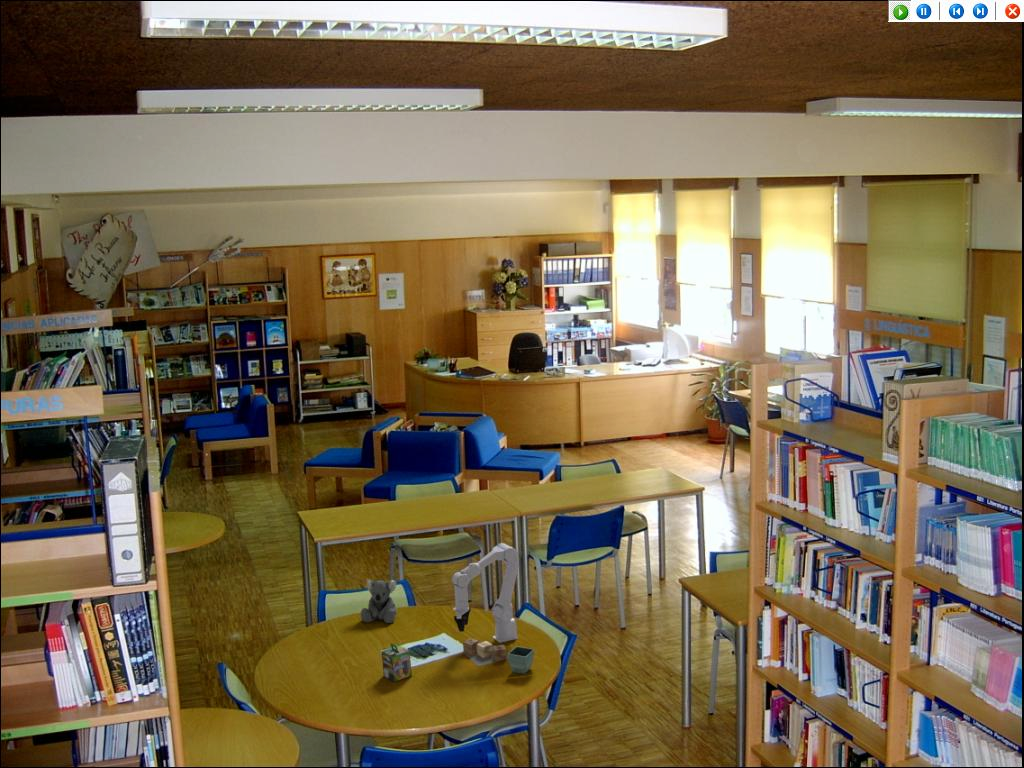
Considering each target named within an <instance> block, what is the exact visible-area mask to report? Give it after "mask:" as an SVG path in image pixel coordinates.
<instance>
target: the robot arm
mask: <svg viewBox="0 0 1024 768" xmlns="http://www.w3.org/2000/svg"><path fill="white" fill-rule="evenodd" d="M495 561H503V562H504V563H505V565H506V566H505V571H504V574H503V575H504V576H503V581H502V583H501V589H500V593H499V598H497V599H496V600H495V602H494V605H493V606H492V609H491V613H492V616H493V617H494V629H495V630H494V632H495V635H493V636H491V637H492V638H493V639H494V640H495V641H497V642H498V643H500V644H501V643H503V642H508V641H514V640H518V629H517V622H516V619H515V618H514V617H513V616H514V612H513V608H514V606H513V604H512V597H513V593H514V588H515V584H516V580H517V576H518V570H519V566H520V560H519V552H518V551H517V550H516V548H514V547H513V546H510V545H508V544H506V543H504V542H501V543H500V542H499V543H498V544H497V545H495V546H494V547H493V548H492V550H491V551H490V552H488V553H487V554H486V555H485V556H484V557H482V559H480V560H479V561H477V562H470V563H469V564H468V565H467V566H466V567H465V568H463V569H461V570H460V571H457V572H455V573H454V574H453V575H452V578H451V583H452V584H453V586H454V587H453V588H454V603H455V604H454V605H455V607H453V609H452V611H455V613H456V615H454V616H453V621H455V623H456V627H457V628H458V632H462V633H464V632H465V627H466V626H468V624H469V623H468V622H469V617H470V613H471V610H472V609H471V607H469V596H468V585H469V583H470V582H471V581H472V580H473V579H474V578H476V577H477V576H479V575H480V574H481V572H482V570H483V569H484V568H485V567H487V566H489V565H490V564H492V563H493V562H495Z"/></svg>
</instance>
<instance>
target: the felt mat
mask: <svg viewBox="0 0 1024 768" xmlns="http://www.w3.org/2000/svg"><path fill="white" fill-rule="evenodd" d="M492 646H495V645H494V644H492ZM462 653H463V654H464V655H465V656H466V657H467V658H468V659H469V660H471V661H472V662H473V663H474V664H475V665H476V666H478V667H481V666H485V665H490V664H493V663H497V662H498V663H499V662H500V661H495V660H494V657H493V655H492V656H488V657H485V658H483V657H481V656H479V655H477V653H475V654H473V655H470V654H467V653H464V651H462ZM507 660H509V658H508V655H506V660H505V661H507Z"/></svg>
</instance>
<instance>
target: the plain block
mask: <svg viewBox="0 0 1024 768" xmlns="http://www.w3.org/2000/svg"><path fill="white" fill-rule="evenodd" d="M492 645H493V644H492V643H490V642H489V641H487V640H485V641H482V642H479V643H478V644H477V655H479V656H481V657H483V658H485V657H488V656H492V655H493V646H492Z"/></svg>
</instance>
